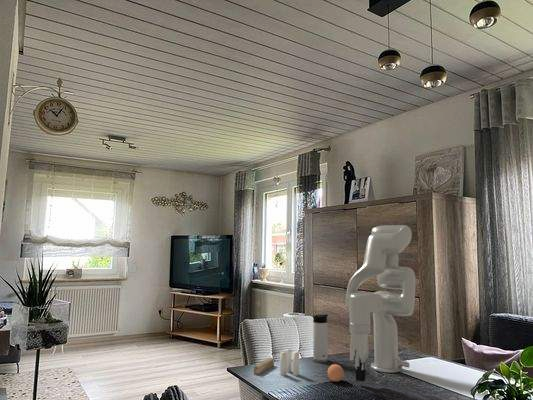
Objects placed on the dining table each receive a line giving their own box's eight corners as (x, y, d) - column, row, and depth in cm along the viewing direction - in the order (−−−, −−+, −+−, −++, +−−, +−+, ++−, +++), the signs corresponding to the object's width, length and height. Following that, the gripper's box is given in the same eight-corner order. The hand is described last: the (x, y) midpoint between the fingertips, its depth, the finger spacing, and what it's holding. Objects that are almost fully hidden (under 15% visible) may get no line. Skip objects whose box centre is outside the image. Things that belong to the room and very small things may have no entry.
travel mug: (327, 363, 172) (327, 315, 174) (312, 362, 173) (312, 315, 175) (328, 359, 178) (328, 313, 180) (313, 358, 179) (313, 313, 182)
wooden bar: (273, 365, 167) (273, 358, 167) (258, 374, 154) (258, 366, 155) (269, 365, 168) (269, 357, 168) (253, 374, 155) (253, 366, 156)
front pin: (300, 374, 155) (300, 352, 157) (297, 376, 153) (297, 353, 154) (294, 373, 157) (294, 351, 158) (292, 375, 154) (292, 352, 155)
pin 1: (287, 374, 155) (287, 352, 156) (284, 376, 153) (285, 353, 154) (281, 373, 156) (282, 351, 157) (279, 375, 154) (279, 352, 155)
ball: (345, 380, 149) (345, 363, 150) (341, 384, 144) (341, 367, 145) (330, 377, 152) (330, 361, 153) (325, 382, 146) (325, 365, 147)
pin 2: (292, 371, 160) (292, 349, 161) (290, 372, 157) (290, 350, 159) (286, 370, 161) (287, 348, 162) (284, 371, 159) (284, 349, 160)
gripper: (354, 324, 154) (355, 373, 152) (344, 330, 141) (345, 384, 139) (374, 326, 151) (375, 376, 149) (365, 332, 138) (366, 388, 135)
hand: (360, 380), depth 144 cm, fingers closed
